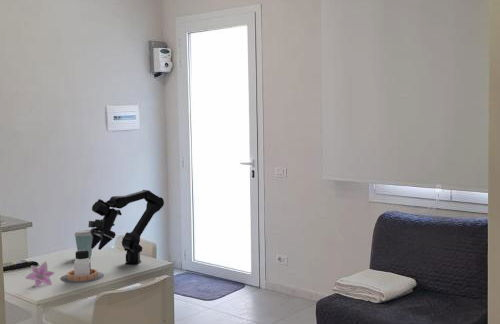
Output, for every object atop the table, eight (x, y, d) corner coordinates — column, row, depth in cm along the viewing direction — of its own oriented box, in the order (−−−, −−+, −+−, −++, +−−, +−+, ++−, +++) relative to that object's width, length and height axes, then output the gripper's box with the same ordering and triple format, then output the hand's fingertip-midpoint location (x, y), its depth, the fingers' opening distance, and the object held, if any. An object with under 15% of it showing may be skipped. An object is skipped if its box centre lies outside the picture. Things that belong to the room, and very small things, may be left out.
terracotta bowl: (102, 273, 287) (102, 269, 287) (89, 281, 273) (89, 277, 273) (75, 272, 289) (75, 267, 289) (61, 280, 275) (61, 275, 275)
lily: (21, 290, 265) (25, 274, 261) (28, 274, 275) (32, 258, 272) (48, 296, 268) (52, 280, 264) (54, 280, 278) (58, 264, 274)
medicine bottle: (90, 277, 279) (89, 252, 278) (74, 278, 277) (73, 253, 276) (90, 273, 286) (90, 248, 285) (75, 274, 284) (74, 249, 283)
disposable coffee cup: (70, 258, 318) (69, 231, 317) (86, 254, 328) (85, 227, 326) (84, 261, 313) (83, 233, 312) (99, 256, 322) (99, 229, 321)
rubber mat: (110, 272, 289) (110, 272, 289) (93, 284, 270) (93, 283, 270) (72, 271, 293) (72, 270, 293) (52, 282, 273) (52, 281, 273)
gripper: (87, 212, 299) (74, 241, 294) (102, 213, 284) (88, 243, 279) (106, 222, 305) (93, 250, 300) (121, 222, 289) (108, 252, 285)
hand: (95, 248), depth 291 cm, fingers open, 9 cm apart
